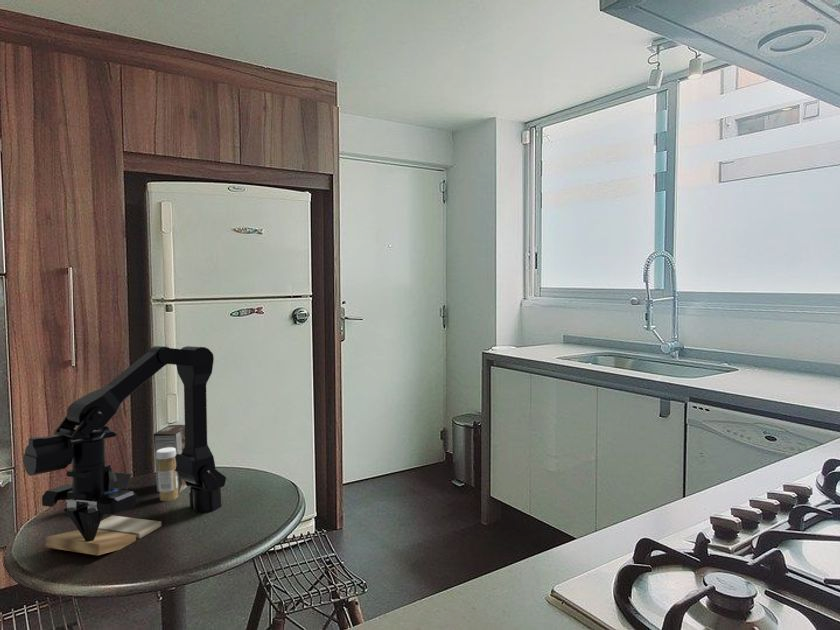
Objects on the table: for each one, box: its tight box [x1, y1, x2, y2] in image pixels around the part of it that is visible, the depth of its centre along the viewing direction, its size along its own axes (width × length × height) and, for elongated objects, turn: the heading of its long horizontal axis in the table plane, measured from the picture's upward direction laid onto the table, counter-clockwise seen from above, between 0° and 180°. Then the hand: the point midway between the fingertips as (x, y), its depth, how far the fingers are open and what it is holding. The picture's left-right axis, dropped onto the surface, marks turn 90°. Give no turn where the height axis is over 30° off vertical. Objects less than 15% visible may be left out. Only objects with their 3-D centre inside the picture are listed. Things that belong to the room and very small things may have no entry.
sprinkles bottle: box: [156, 447, 179, 502], centre depth 137 cm, size 5×5×13 cm
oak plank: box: [44, 529, 137, 556], centre depth 112 cm, size 14×9×2 cm, turn 72°
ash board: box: [98, 514, 162, 539], centre depth 120 cm, size 14×6×2 cm, turn 72°
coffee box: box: [152, 424, 188, 494], centre depth 147 cm, size 9×6×16 cm
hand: (90, 541), depth 108 cm, fingers closed, pressing on oak plank
